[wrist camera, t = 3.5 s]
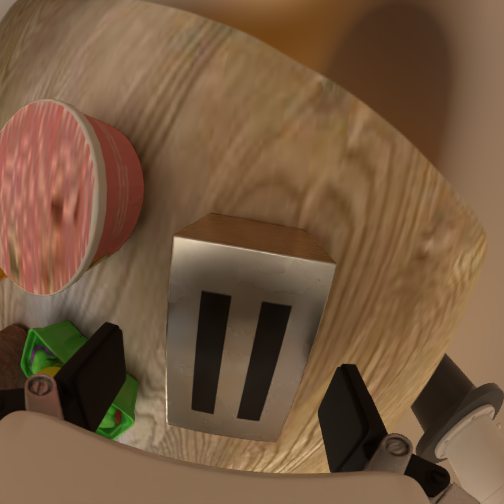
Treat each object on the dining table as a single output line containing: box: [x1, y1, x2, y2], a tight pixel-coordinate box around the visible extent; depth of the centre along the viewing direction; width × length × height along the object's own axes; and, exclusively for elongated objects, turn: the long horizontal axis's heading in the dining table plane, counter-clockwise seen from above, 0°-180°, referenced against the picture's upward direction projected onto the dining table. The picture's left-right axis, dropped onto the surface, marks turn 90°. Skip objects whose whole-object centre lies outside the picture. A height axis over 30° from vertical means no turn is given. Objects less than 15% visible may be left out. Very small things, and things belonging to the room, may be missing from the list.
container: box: [0, 99, 144, 296], centre depth 14 cm, size 10×10×8 cm
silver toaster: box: [166, 213, 337, 442], centre depth 15 cm, size 6×12×8 cm, turn 170°
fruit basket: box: [21, 321, 139, 440], centre depth 16 cm, size 11×9×11 cm
